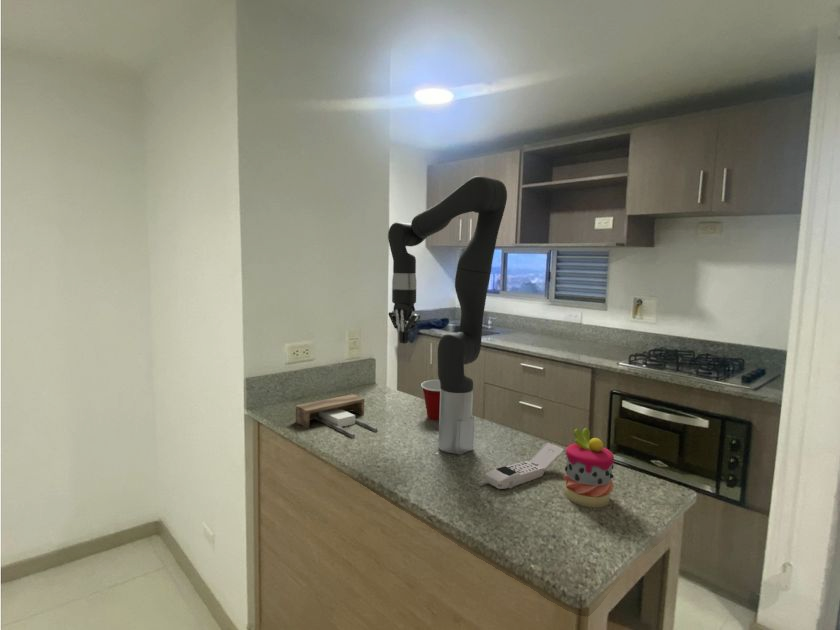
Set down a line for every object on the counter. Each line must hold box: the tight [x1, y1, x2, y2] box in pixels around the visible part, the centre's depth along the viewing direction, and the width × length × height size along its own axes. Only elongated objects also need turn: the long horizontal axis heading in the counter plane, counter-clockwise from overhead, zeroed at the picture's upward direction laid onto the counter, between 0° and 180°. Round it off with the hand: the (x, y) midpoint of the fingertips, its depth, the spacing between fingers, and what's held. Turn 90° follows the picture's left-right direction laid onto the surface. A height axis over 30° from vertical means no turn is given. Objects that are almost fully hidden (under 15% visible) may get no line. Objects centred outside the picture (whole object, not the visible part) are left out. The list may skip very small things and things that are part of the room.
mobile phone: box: [478, 442, 565, 490], centre depth 117 cm, size 6×6×25 cm
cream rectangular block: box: [319, 407, 356, 428], centre depth 154 cm, size 12×6×3 cm, turn 42°
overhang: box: [295, 393, 378, 439], centre depth 151 cm, size 23×22×6 cm
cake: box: [562, 427, 615, 508], centre depth 107 cm, size 10×11×15 cm
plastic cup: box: [420, 379, 440, 421], centre depth 160 cm, size 11×11×12 cm
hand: (403, 343), depth 148 cm, fingers closed
